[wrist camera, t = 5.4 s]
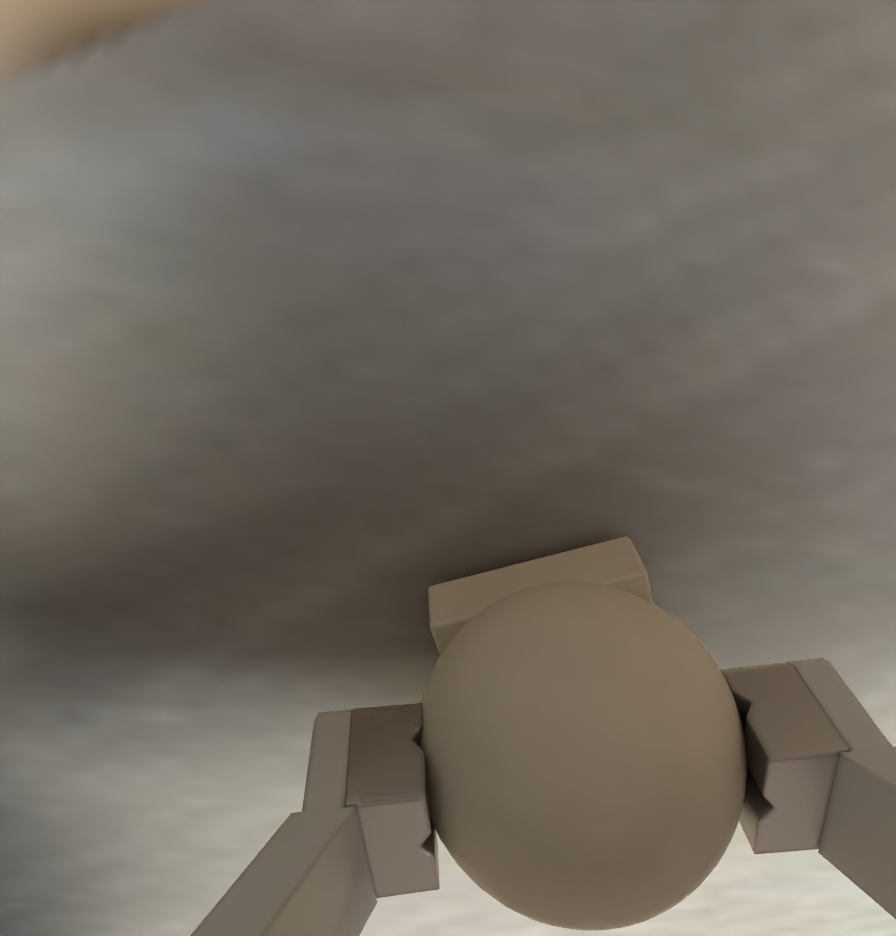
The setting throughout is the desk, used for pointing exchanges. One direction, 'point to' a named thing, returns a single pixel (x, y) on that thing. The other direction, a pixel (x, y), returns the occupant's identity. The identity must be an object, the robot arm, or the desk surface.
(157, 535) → the desk surface
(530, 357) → the desk surface
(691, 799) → the beige rounded piece
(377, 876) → the robot arm
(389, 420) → the desk surface
